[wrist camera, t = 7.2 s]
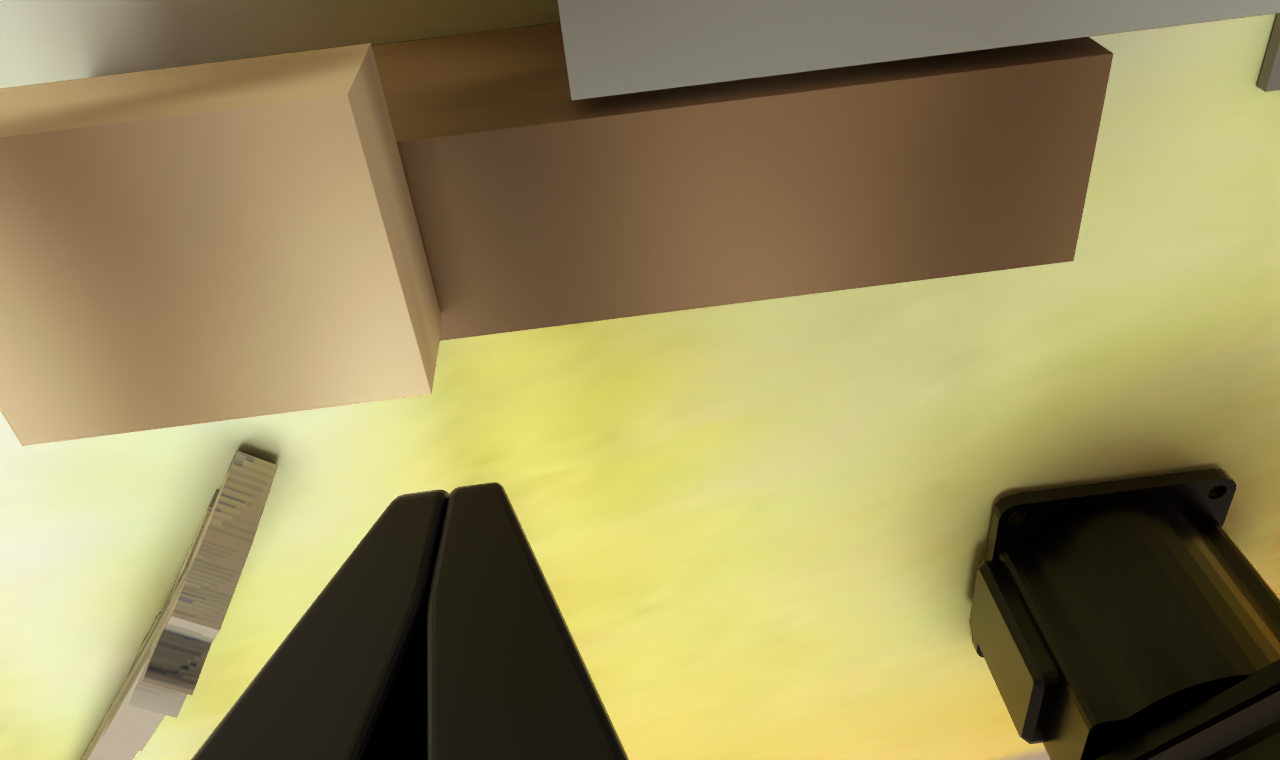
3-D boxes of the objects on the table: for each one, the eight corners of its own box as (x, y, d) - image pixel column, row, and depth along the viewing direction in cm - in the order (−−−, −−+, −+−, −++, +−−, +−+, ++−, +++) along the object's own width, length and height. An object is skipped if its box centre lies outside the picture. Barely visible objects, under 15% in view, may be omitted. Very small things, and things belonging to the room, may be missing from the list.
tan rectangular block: (370, 42, 13) (346, 94, 12) (443, 320, 16) (431, 394, 14) (-72, 97, 13) (-156, 157, 12) (75, 367, 16) (22, 445, 14)
